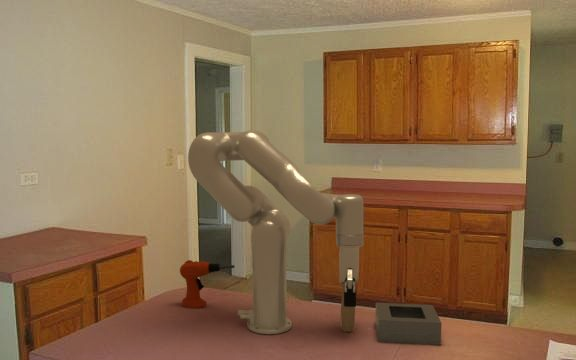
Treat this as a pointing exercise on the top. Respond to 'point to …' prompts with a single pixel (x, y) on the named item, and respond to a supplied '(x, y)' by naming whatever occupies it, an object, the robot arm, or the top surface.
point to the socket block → (407, 324)
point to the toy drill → (197, 280)
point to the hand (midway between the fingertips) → (349, 300)
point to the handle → (347, 313)
